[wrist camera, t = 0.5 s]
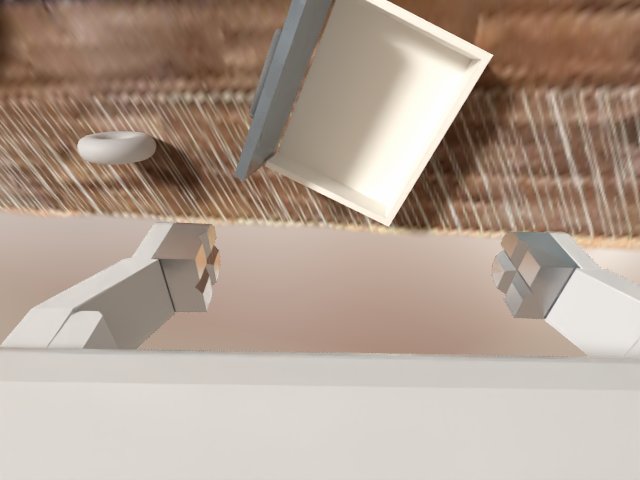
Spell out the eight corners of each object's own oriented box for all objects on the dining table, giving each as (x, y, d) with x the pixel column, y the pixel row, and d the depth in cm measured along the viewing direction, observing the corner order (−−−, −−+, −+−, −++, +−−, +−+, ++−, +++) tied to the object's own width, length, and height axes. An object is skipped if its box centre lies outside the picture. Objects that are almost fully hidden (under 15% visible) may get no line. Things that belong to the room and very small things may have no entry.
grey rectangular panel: (339, -18, 41) (321, -45, 30) (273, 156, 51) (243, 180, 41) (322, -27, 41) (298, -57, 30) (259, 149, 51) (226, 172, 41)
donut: (167, 130, 55) (124, 143, 46) (171, 153, 56) (130, 170, 47) (108, 127, 56) (55, 139, 47) (113, 149, 58) (63, 165, 49)
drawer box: (478, 55, 43) (492, 55, 37) (389, 207, 54) (388, 226, 48) (344, -13, 43) (336, -26, 37) (279, 154, 53) (265, 166, 47)
